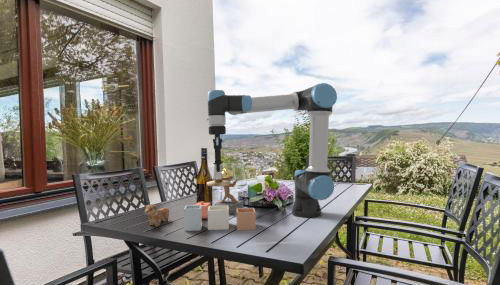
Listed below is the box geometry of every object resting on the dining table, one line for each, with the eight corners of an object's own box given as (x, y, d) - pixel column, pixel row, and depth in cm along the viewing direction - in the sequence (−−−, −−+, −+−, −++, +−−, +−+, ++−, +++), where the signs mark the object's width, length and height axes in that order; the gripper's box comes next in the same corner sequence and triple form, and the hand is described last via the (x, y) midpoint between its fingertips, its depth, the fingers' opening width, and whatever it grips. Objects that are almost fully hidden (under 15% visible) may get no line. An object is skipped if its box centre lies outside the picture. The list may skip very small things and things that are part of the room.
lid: (230, 182, 139) (229, 164, 139) (230, 185, 129) (230, 167, 129) (207, 183, 138) (207, 165, 138) (206, 186, 128) (205, 167, 128)
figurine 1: (139, 227, 136) (139, 205, 136) (162, 218, 151) (162, 199, 151) (151, 229, 134) (151, 206, 134) (173, 220, 149) (173, 199, 148)
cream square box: (228, 224, 139) (228, 205, 139) (229, 230, 130) (228, 209, 130) (209, 225, 138) (208, 206, 138) (207, 231, 129) (207, 210, 129)
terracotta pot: (254, 225, 137) (253, 207, 137) (255, 230, 129) (255, 212, 129) (236, 226, 137) (236, 208, 136) (237, 231, 129) (237, 212, 128)
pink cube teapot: (213, 220, 147) (212, 203, 146) (189, 220, 148) (189, 203, 148) (216, 216, 154) (216, 200, 154) (194, 216, 156) (193, 200, 156)
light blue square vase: (202, 227, 136) (201, 205, 136) (200, 231, 129) (200, 208, 129) (186, 227, 135) (185, 205, 135) (184, 232, 128) (183, 209, 128)
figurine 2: (243, 211, 165) (242, 165, 165) (240, 216, 154) (240, 167, 154) (218, 210, 166) (217, 165, 166) (213, 215, 156) (213, 167, 155)
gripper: (209, 126, 141) (210, 176, 141) (207, 125, 125) (209, 181, 125) (225, 126, 142) (226, 175, 142) (225, 124, 125) (227, 180, 126)
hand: (218, 178), depth 134 cm, fingers closed on lid, 3 cm apart
